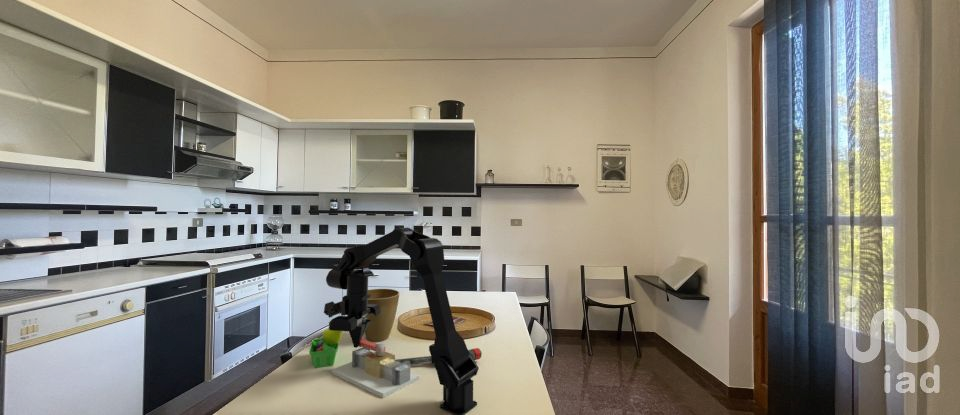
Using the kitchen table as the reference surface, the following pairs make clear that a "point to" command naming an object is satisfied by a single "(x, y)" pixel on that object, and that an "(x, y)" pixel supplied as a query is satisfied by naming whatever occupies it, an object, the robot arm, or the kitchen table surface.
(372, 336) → the plant pot
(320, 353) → the fruit basket
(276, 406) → the kitchen table surface
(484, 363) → the kitchen table surface
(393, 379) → the pipe valve
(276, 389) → the kitchen table surface
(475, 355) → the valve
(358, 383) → the mounting board
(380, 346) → the lever
